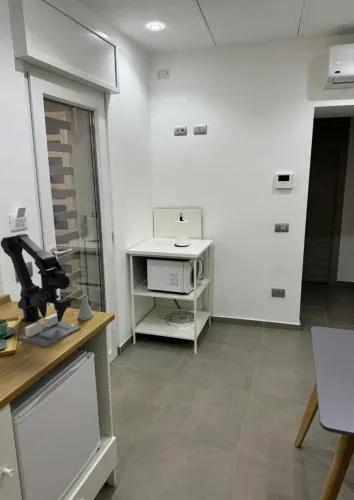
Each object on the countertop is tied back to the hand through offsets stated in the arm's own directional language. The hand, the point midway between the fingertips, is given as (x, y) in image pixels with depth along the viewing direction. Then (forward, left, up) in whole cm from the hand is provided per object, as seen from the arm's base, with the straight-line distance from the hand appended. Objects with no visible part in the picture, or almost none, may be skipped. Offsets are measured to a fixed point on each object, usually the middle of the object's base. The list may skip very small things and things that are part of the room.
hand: (51, 319), depth 155 cm
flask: (+5, +15, -4) cm, 16 cm away
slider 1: (0, -10, -2) cm, 10 cm away
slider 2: (0, 0, -2) cm, 2 cm away
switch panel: (+4, -5, -3) cm, 7 cm away
